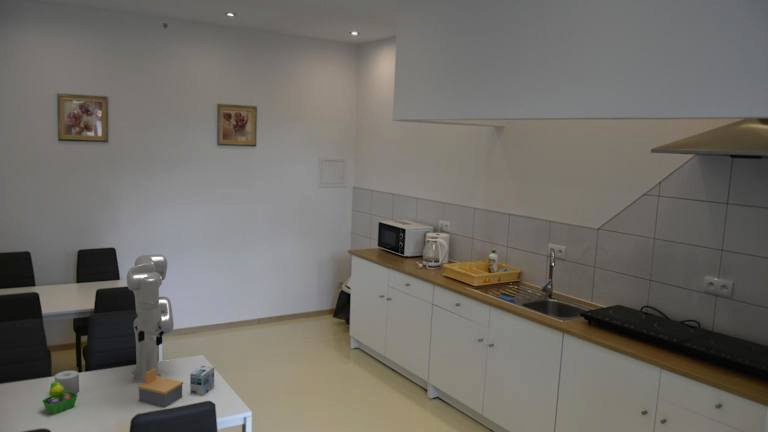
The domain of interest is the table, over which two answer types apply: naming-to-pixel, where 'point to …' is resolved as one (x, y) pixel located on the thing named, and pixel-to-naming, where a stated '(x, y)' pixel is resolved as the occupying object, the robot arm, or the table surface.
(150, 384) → the lid
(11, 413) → the table surface
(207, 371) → the light bulb box
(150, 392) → the tub
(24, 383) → the table surface
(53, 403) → the fruit basket
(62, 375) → the toilet tissue
